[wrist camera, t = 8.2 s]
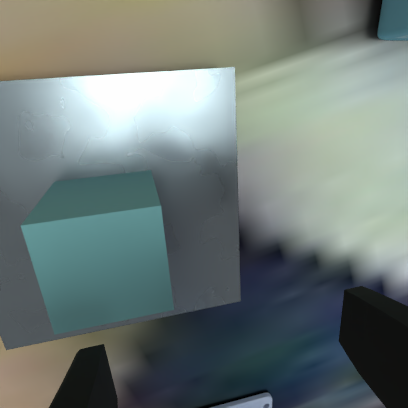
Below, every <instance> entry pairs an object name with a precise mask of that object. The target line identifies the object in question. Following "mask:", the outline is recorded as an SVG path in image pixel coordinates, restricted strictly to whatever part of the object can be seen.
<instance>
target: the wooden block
mask: <svg viewBox="0 0 408 408" xmlns="http://www.w3.org/2000/svg"><path fill="white" fill-rule="evenodd" d="M21 229H22V232H23V235H24V238H25V241H26V245H27V248H28V251H29V254H30V257H31V261H32V264H33V267H34V270H35V274H36V277H37V280H38V283H39V286H40V290H41V293H42V296H43V299H44V303H45V306H46V309H47V312H48V315H49V319H50V322H51V325H52V328H53V331H54V335H55V334H60V333H65V332H70V331H75V330H79V329H84V328H89V327H94V326H99V325H104V324H108V323H113V322H118V321H123V320H128V319H132V318H137V317H142V316H147V315H152V314H157V313H161V312H166V311H171V310H174V306H173V298H172V290H171V282H170V274H169V266H168V258H167V250H166V242H165V234H164V226H163V218H162V210H161V204H160V200H159V197H158V193H157V190H156V186H155V183H154V179H153V176H152V172H151V170H147V171H139V172H130V173H122V174H114V175H106V176H97V177H89V178H81V179H72V180H64V181H56V182H54V183H53V184H52V185H51V187H50V188H49V189H48V191H47V192H46V193H45V195H44V196H43V197H42V198H41V200H40V201H39V202H38V204H37V205H36V206H35V208H34V209H33V210H32V211H31V213H30V214H29V215H28V217H27V218H26V219H25V221H24V222H23V223H22V225H21Z"/></svg>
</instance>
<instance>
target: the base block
mask: <svg viewBox="0 0 408 408" xmlns="http://www.w3.org/2000/svg"><path fill="white" fill-rule="evenodd" d="M147 170H151V172H152V176H153V179H154V183H155V186H156V190H157V193H158V197H159V200H160V204H161V210H162V218H163V226H164V234H165V242H166V250H167V258H168V266H169V274H170V282H171V290H172V298H173V306H174V310H171V311H166V312H161V313H157V314H152V315H147V316H142V317H137V318H132V319H128V320H123V321H118V322H113V323H108V324H104V325H99V326H94V327H89V328H84V329H79V330H75V331H70V332H65V333H60V334H55V335H54V331H53V328H52V325H51V322H50V319H49V315H48V312H47V309H46V306H45V303H44V299H43V296H42V293H41V290H40V286H39V283H38V280H37V277H36V274H35V270H34V267H33V264H32V261H31V257H30V254H29V251H28V248H27V245H26V241H25V238H24V235H23V232H22V229H21V225H22V223H23V222H24V221H25V219H26V218H27V217H28V215H29V214H30V213H31V211H32V210H33V209H34V208H35V206H36V205H37V204H38V202H39V201H40V200H41V198H42V197H43V196H44V195H45V193H46V192H47V191H48V189H49V188H50V187H51V185H52V184H53V183H54V182H56V181H64V180H72V179H81V178H89V177H97V176H106V175H114V174H122V173H130V172H139V171H147ZM239 301H241V298H240V258H239V217H238V177H237V137H236V96H235V67H229V68H212V69H196V70H179V71H162V72H146V73H129V74H112V75H96V76H79V77H63V78H46V79H29V80H13V81H0V336H1V338H2V341H3V343H4V346H5V348H6V350H9V349H14V348H18V347H23V346H28V345H33V344H38V343H42V342H47V341H52V340H57V339H62V338H66V337H71V336H76V335H81V334H86V333H90V332H95V331H100V330H105V329H109V328H114V327H119V326H124V325H129V324H133V323H138V322H143V321H148V320H153V319H157V318H162V317H167V316H172V315H177V314H181V313H186V312H191V311H196V310H201V309H205V308H210V307H215V306H220V305H224V304H229V303H234V302H239Z"/></svg>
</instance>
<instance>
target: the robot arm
mask: <svg viewBox="0 0 408 408" xmlns="http://www.w3.org/2000/svg"><path fill="white" fill-rule="evenodd" d="M339 342H340V344H341V346H342V347H343V349H344V350H345V352H346V354H347V355H348V357H349V359H350V360H351V362H352V363H353V365H354V366H355V368H356V369H357V371H358V372H359V374H360V375H361V376H362V378H363V379H364V380H365V382H366V383H367V384H368V385H369V387H370V388H371V389H372V390H373V392H374V393H375V394H376V396H377V397H378V398H379V399H380V401H381V402H382V403H383V404H384V405H385V407H386V408H408V306H406V305H403V304H401V303H399V302H397V301H395V300H393V299H391V298H388V297H386V296H384V295H382V294H380V293H377V292H375V291H373V290H371V289H368V288H366V287H363V286H360V287H355V288H351V289H346V290H344V299H343V308H342V317H341V326H340V335H339ZM49 408H118V405H117V395H116V391H115V387H114V383H113V379H112V375H111V371H110V367H109V363H108V359H107V355H106V351H105V347H104V344H102V345H97V346H93V347H88V348H84V349H80V350H79V351H78V352H77V354H76V356H75V358H74V360H73V362H72V364H71V366H70V368H69V370H68V372H67V374H66V376H65V378H64V380H63V382H62V384H61V386H60V388H59V390H58V392H57V393H56V395H55V397H54V399H53V401H52V403H51V405H50V407H49ZM210 408H272V397H271V395H270V394H269V393H262V394H258V395H254V396H251V397H247V398H243V399H240V400H236V401H232V402H229V403H225V404H221V405H218V406H214V407H210Z"/></svg>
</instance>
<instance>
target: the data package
mask: <svg viewBox="0 0 408 408" xmlns="http://www.w3.org/2000/svg"><path fill="white" fill-rule="evenodd" d="M377 34H378V37H379V38H380V39H382V40H408V0H383V1H382V7H381V14H380V20H379V27H378V33H377Z"/></svg>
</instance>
